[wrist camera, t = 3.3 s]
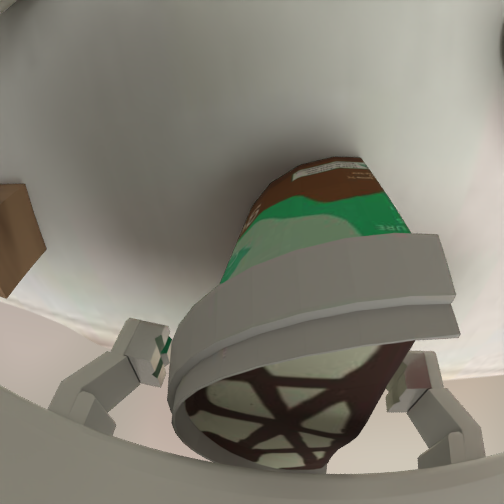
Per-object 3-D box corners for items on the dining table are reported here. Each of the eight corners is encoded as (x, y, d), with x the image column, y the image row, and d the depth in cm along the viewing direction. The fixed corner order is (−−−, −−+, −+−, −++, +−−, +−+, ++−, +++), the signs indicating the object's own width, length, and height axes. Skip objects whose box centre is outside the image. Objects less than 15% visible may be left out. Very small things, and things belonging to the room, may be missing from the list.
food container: (215, 113, 12) (72, 275, 4) (365, 124, 12) (476, 311, 4) (226, 317, 20) (189, 472, 12) (324, 326, 19) (322, 486, 11)
